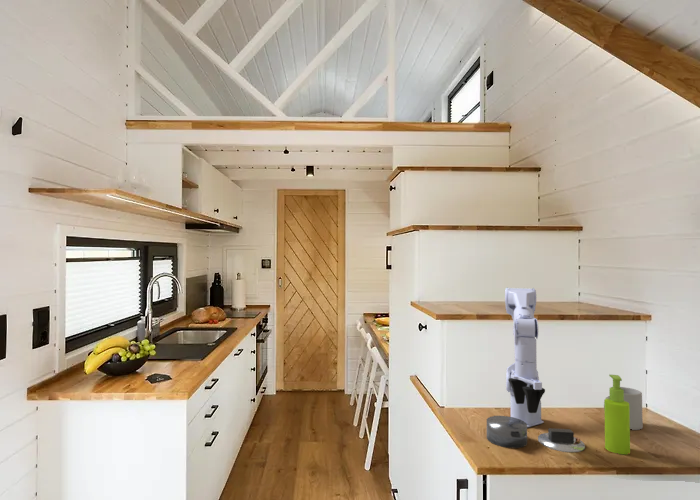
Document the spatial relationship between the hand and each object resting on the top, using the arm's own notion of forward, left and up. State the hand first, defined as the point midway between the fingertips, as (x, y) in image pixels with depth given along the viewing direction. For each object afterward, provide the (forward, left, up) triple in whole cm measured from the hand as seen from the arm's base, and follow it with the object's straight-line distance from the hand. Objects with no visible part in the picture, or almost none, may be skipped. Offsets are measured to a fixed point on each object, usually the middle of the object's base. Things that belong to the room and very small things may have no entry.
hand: (526, 407), depth 122 cm
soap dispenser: (-18, +15, -10) cm, 26 cm away
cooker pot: (+4, -4, -10) cm, 11 cm away
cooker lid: (-8, +5, -10) cm, 14 cm away
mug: (-38, +6, -10) cm, 40 cm away
